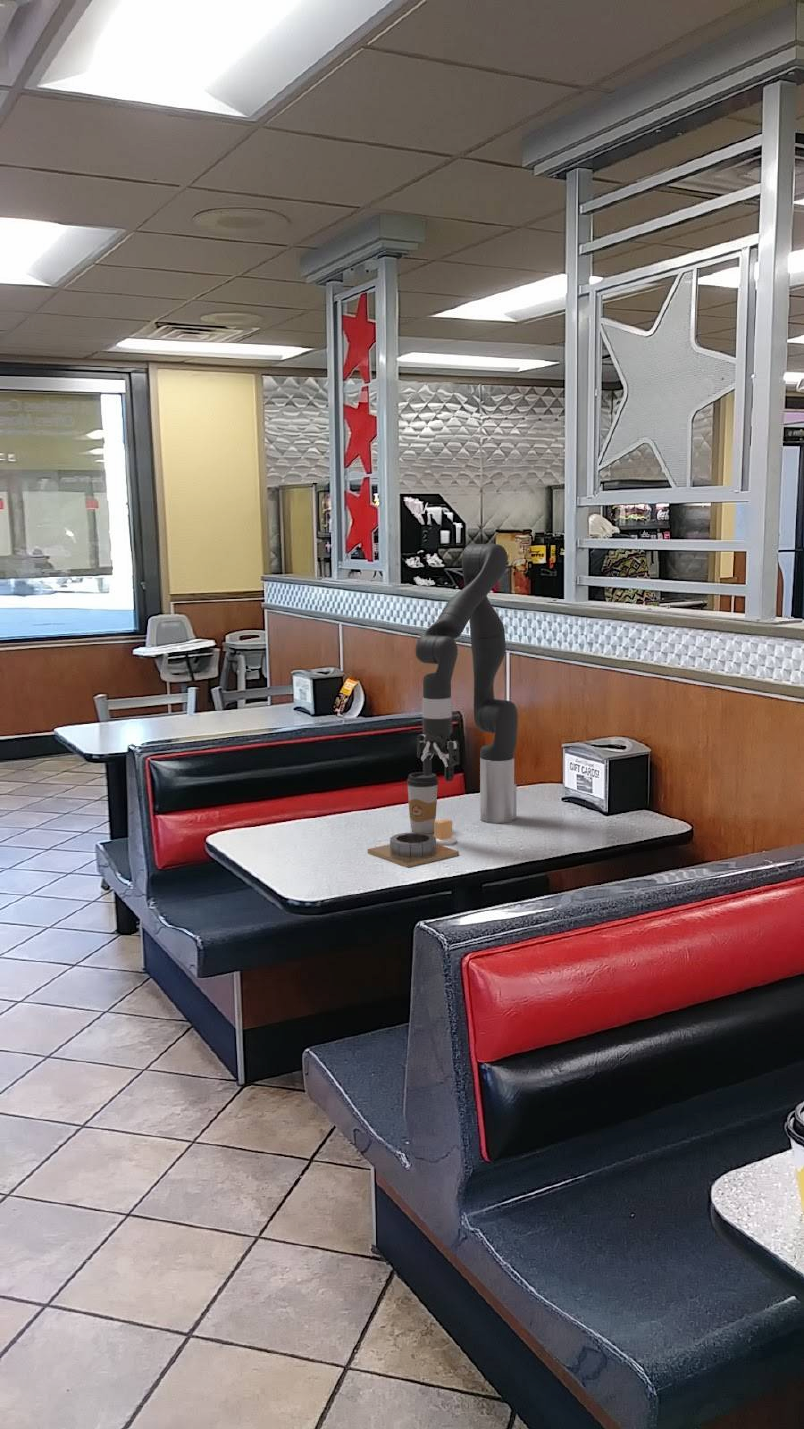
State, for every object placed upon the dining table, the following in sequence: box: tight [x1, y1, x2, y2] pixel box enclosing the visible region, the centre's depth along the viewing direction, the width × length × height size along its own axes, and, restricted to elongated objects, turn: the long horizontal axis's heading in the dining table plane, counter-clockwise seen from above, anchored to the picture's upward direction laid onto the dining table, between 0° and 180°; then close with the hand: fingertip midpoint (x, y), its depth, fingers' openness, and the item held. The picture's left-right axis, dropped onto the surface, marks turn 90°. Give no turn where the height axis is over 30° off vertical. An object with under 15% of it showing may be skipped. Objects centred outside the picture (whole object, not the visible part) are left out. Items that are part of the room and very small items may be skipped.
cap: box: [433, 818, 457, 846], centre depth 285 cm, size 6×6×6 cm
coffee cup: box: [406, 771, 439, 834], centre depth 295 cm, size 8×8×15 cm
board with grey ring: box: [367, 831, 460, 868], centre depth 274 cm, size 16×16×4 cm
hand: (438, 778), depth 283 cm, fingers open, 8 cm apart
